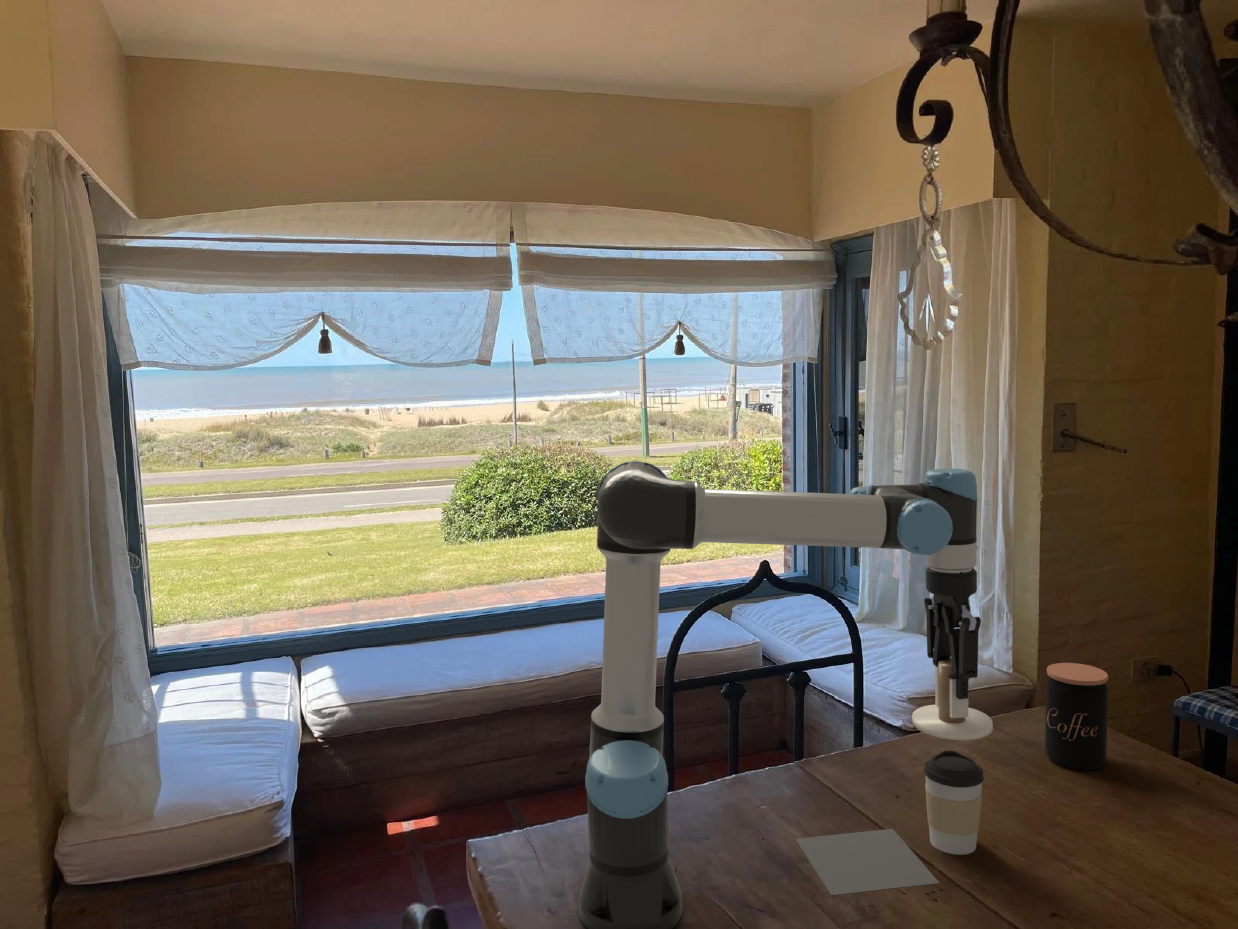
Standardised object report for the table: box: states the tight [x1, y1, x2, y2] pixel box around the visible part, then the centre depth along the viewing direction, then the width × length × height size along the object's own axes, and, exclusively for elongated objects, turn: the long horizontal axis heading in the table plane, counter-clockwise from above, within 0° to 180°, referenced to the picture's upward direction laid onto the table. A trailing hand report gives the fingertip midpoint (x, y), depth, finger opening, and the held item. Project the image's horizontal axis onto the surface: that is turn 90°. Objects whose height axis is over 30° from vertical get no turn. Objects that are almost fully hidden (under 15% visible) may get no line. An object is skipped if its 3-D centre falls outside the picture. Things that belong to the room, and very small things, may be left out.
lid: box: [911, 660, 994, 741], centre depth 139 cm, size 12×12×10 cm
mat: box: [795, 828, 940, 896], centre depth 138 cm, size 17×16×1 cm
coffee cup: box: [923, 750, 985, 856], centre depth 141 cm, size 9×9×15 cm
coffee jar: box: [1044, 662, 1109, 771], centre depth 171 cm, size 11×11×18 cm
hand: (951, 711), depth 139 cm, fingers closed on lid, 4 cm apart
